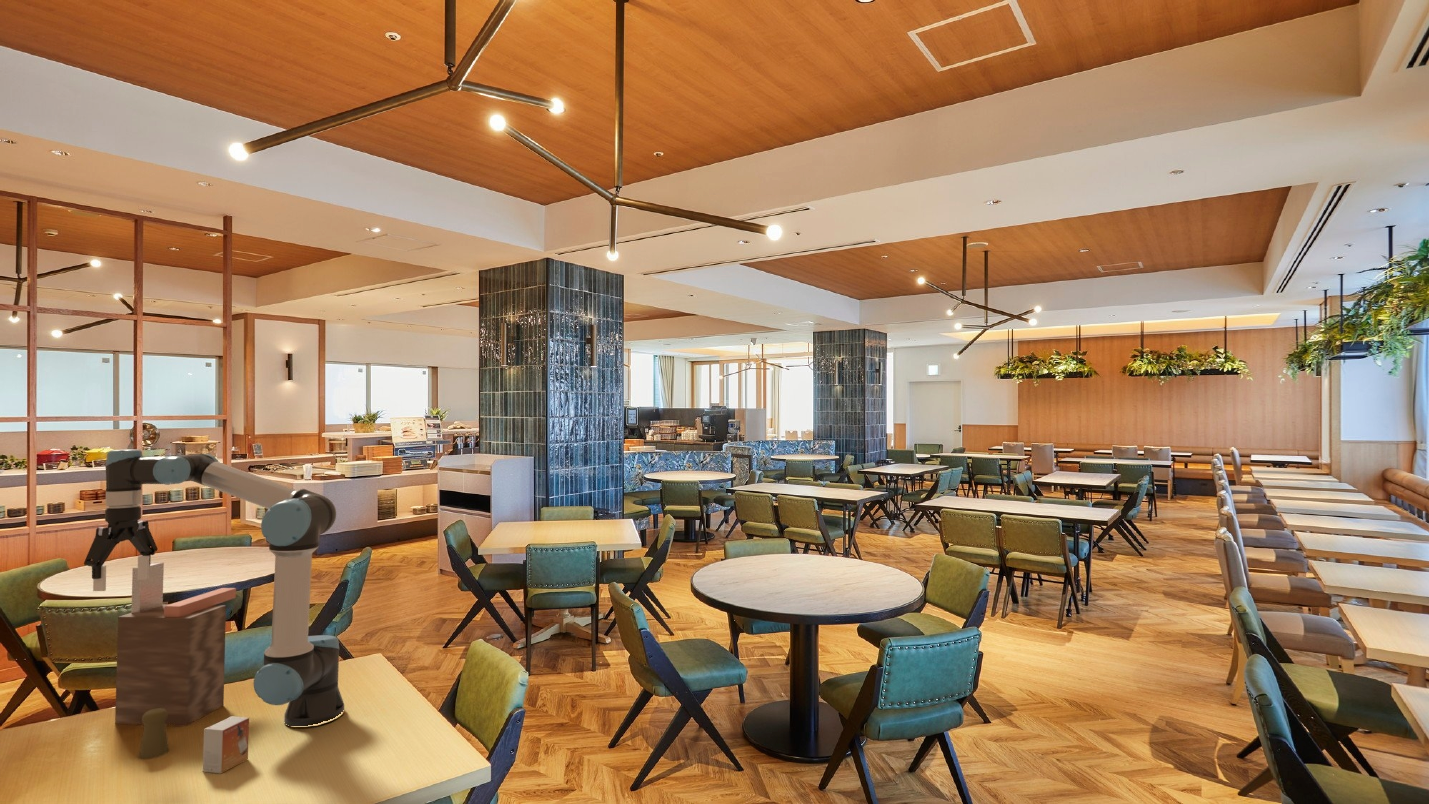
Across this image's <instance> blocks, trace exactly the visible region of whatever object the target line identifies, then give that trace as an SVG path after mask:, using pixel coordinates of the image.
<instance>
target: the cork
mask: <svg viewBox="0 0 1429 804" xmlns="http://www.w3.org/2000/svg"><path fill="white" fill-rule="evenodd" d="M167 716H168V713H167V711H166V709H163V708H157V709H152V710H149V711H147V712H146V713H145V714H144V715H143V717H142V722H143V724H144V725H143V726H144V728H143V731H142V732H143V733H142V739H141V742H140V743H141V744H140V747H139V753H138V758H139V759H141V760H149V759H154V758H158V757H161V756H163V755H166V753H168V752H169V751H170V750H169V743H168V742H169V741H168V735H167V730H166V727H167V726H166V725H165V720H166V719H167Z"/></svg>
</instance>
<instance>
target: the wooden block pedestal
mask: <svg viewBox="0 0 1429 804" xmlns="http://www.w3.org/2000/svg"><path fill="white" fill-rule="evenodd" d="M170 604H171V603H169V604H168V603H163V606H161V607H158V608H155V609H151V610H148V611H145V612H142V613H131V612H129V613H126V614H123V615H120V616H118V618H117V641H116V642H117V643H116V644H117V645H116V646H117V647H116V648H117V650H116V679H115V682H116V683H115V708H114V709H115V710H114V711H115V713H114V714H115V715H114V724H115V725H143V726H145V725H144V724H143V722H142V717H143V715H144V714H145V713H146V712H147V711H149V710H152V709H157V708H163V709H166V711H167V713H168V716H167V719H166V720H165V726H185V727H187V726H188V724H189V725H191V724H192V723H194V722H197V721H198V720H199V719H201V717H202V718H204V717H205V716H208V715H209V714H211V713H213V712H215V711H216V710H215V709H217V710H218V709H220V708H221V707H220V706H222V707H224V706H223V705H224V704H225V703H224V702H225V701H224V699H225V698H224V697H225V693H224V692H225V668H226V666H225V665H226V661H225V660H226V654H225V653H226V621H227V605H225V604H223V605H221V604H219V605H218V604H216V605H213V606H210V607H207V608H204V609H201V610H198V611H196V612H193V613H190V614H187V615H184V616H181V617H164V606H166V605H170ZM219 707H220V708H219ZM214 710H215V711H214ZM212 711H213V712H212ZM210 712H211V713H210ZM203 716H204V717H203ZM197 719H198V720H197ZM193 721H194V722H193Z"/></svg>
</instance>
